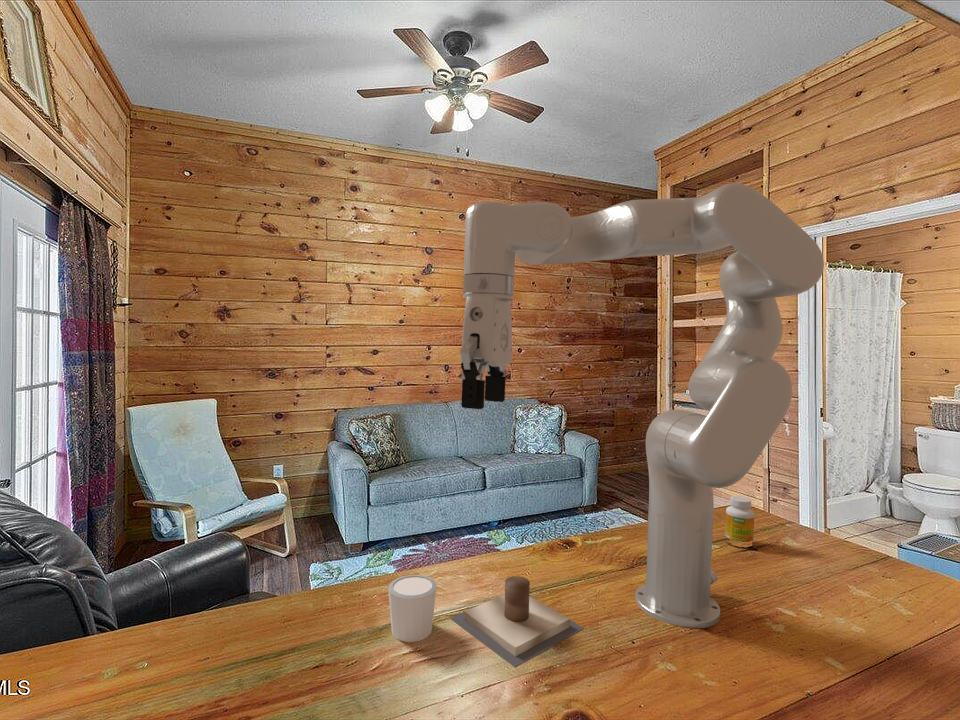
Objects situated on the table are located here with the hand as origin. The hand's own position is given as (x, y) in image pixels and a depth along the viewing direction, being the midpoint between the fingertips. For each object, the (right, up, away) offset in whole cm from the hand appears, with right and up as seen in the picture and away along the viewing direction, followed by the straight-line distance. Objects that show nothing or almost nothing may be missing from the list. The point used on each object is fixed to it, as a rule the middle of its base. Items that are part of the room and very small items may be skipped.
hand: (484, 404), depth 74 cm
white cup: (-10, -33, -3) cm, 34 cm away
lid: (+5, -32, -1) cm, 33 cm away
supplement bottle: (+54, -33, +31) cm, 71 cm away
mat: (+5, -33, -1) cm, 33 cm away
